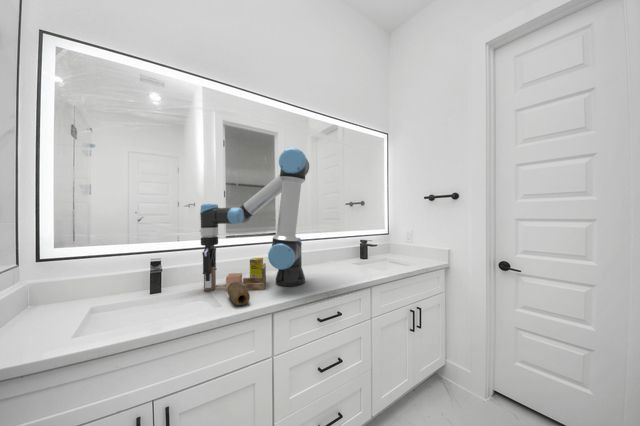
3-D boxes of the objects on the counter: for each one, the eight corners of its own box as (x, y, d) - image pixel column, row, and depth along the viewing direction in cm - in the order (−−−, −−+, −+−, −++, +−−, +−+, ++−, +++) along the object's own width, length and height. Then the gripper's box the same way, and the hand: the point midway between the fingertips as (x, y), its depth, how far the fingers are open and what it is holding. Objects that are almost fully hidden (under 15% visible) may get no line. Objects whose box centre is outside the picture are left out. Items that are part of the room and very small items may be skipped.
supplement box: (260, 279, 128) (260, 259, 128) (249, 279, 128) (249, 259, 128) (263, 276, 134) (263, 257, 134) (252, 276, 134) (252, 257, 134)
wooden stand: (265, 282, 122) (265, 263, 122) (264, 289, 111) (264, 268, 111) (243, 284, 120) (243, 264, 120) (239, 291, 109) (239, 269, 109)
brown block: (242, 285, 118) (241, 264, 118) (239, 289, 111) (239, 267, 111) (207, 287, 115) (207, 266, 115) (203, 291, 108) (202, 269, 108)
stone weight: (224, 298, 100) (224, 282, 101) (241, 294, 105) (241, 279, 105) (234, 309, 88) (234, 291, 88) (253, 304, 92) (252, 287, 92)
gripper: (206, 235, 120) (207, 281, 120) (194, 238, 103) (194, 292, 103) (222, 234, 122) (222, 280, 121) (212, 238, 104) (213, 291, 104)
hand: (209, 285), depth 112 cm, fingers closed on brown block, 4 cm apart
